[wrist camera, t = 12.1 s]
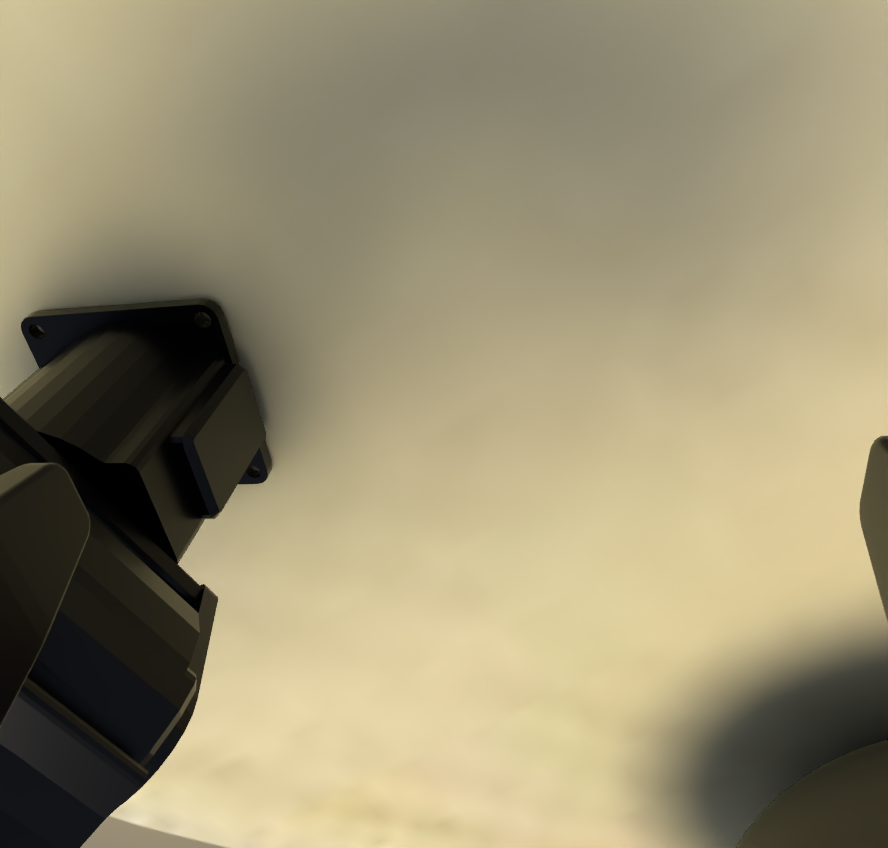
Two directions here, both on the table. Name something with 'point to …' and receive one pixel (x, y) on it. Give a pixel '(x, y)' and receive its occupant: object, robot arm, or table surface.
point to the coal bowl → (830, 806)
